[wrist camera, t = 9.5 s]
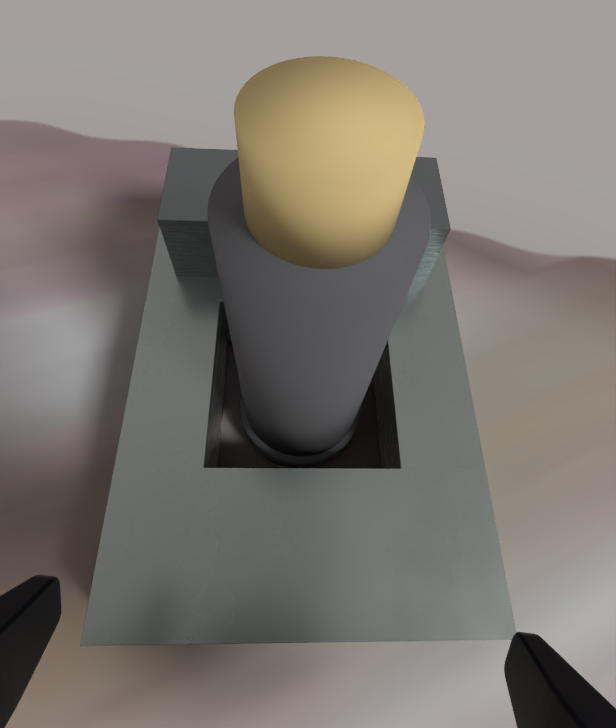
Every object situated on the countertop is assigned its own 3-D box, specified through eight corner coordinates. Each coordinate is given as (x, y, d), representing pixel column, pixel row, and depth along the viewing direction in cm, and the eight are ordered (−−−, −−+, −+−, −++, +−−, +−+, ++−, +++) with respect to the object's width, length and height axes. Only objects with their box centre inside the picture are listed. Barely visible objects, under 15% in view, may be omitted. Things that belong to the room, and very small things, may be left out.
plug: (378, 396, 19) (525, 93, 8) (319, 492, 17) (394, 282, 6) (284, 341, 20) (287, -1, 9) (218, 426, 18) (106, 132, 7)
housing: (476, 631, 15) (580, 651, 10) (116, 636, 15) (23, 660, 9) (419, 261, 23) (461, 158, 17) (177, 255, 22) (143, 146, 17)
